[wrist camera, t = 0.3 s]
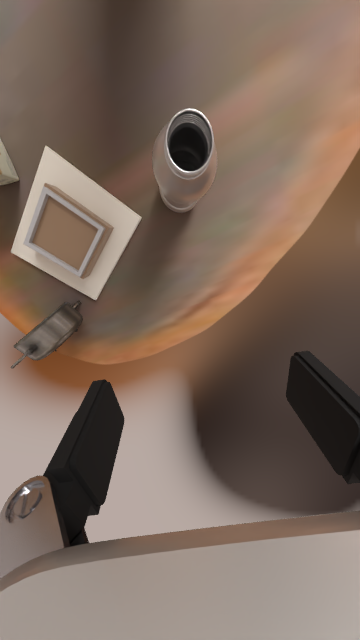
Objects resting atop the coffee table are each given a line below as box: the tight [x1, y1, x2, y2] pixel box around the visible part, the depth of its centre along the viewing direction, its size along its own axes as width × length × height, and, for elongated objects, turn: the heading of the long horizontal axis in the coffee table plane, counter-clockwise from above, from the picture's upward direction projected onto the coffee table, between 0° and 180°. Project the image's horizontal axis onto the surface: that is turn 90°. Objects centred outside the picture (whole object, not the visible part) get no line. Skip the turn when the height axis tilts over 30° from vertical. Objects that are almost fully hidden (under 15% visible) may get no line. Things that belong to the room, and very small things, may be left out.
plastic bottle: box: [152, 108, 217, 213], centre depth 23 cm, size 6×7×20 cm
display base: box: [11, 146, 142, 300], centre depth 32 cm, size 18×16×5 cm
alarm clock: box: [11, 301, 83, 368], centre depth 34 cm, size 11×5×16 cm, turn 126°
